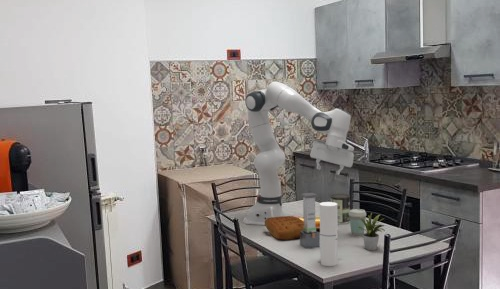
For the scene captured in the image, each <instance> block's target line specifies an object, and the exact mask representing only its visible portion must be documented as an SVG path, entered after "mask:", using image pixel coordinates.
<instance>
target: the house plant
mask: <svg viewBox="0 0 500 289" xmlns="http://www.w3.org/2000/svg"><path fill="white" fill-rule="evenodd" d="M372 215H373V212H371V213H370V215H369V214H368V215H367V216H368V219H367V218H366V219H365V220H364V219H362V218H361V217H360V218H361V219H362V220H361V219H360V218H359V219H360V220H361V221H362V222H363V223H364V225H365V228H362V227H358V228H362V229H363V230H364V234H363V236H362V237H363V244H364V249H365V250H367V251H376V250H378V245H379V238H380V234H378V233H377V232H381V233H383V232H382V231H384V232H386V231H385V229H384V228H382V227H385V225H384V224H380V222H381V221H382V219H380V220H379V217H380V216H381V214H378V215H376V216H375V217H374V218H373V219H372ZM364 217H365V216H364ZM357 218H358V217H357ZM385 219H386V218H383V220H385ZM378 220H379V221H378ZM378 223H379V224H378Z"/></svg>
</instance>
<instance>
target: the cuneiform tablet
mask: <svg viewBox="0 0 500 289" xmlns="http://www.w3.org/2000/svg"><path fill="white" fill-rule="evenodd" d="M264 226H265V228H266V230H267V231H268V233H270V235H272V237H274V238H275V239H277V240H284V241H285V240H290V241H291V240H293V239H300V231H303V230H304V229H303V226H304V220H302V219H300V218H299V217H297V216H294V215H283V216H281V217H271V218H268V219H266V220H265V225H264Z"/></svg>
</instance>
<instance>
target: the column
mask: <svg viewBox="0 0 500 289" xmlns="http://www.w3.org/2000/svg"><path fill="white" fill-rule="evenodd" d="M300 196H301V197H302V204H303V205H302V206H303V207H302V208H303V210H302V211H303V212H302V214H303V218H302V219H303V222H304V226H303V229H304V233H305V234H311V233H316V231H317V227H316V198H318V195H317V194H316V193H314V192H304V193H301V195H300Z"/></svg>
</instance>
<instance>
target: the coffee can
mask: <svg viewBox="0 0 500 289" xmlns="http://www.w3.org/2000/svg"><path fill="white" fill-rule="evenodd" d="M329 197H330V202H334V203H337V218H338V225H345V224H346V225H347V224H350V218H349V211H350V210H351V203H350V202H351V198H350V197H351V195H349V194H347V193H335V194H331V195H330V196H329Z"/></svg>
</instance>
